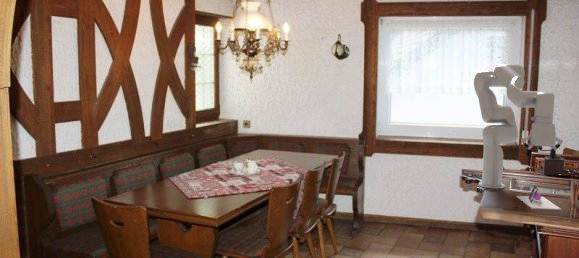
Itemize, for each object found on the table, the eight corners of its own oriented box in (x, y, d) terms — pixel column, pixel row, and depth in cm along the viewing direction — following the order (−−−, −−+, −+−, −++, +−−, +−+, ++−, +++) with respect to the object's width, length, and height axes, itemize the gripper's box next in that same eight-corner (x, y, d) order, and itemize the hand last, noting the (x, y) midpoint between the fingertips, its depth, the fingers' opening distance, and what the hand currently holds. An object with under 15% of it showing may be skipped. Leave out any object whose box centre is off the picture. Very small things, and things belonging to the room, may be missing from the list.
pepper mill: (563, 173, 311) (565, 142, 309) (563, 176, 301) (565, 145, 299) (534, 170, 318) (536, 141, 316) (533, 173, 308) (535, 143, 306)
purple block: (533, 184, 245) (535, 188, 236) (544, 188, 243) (547, 193, 235) (526, 197, 246) (529, 201, 238) (538, 201, 245) (540, 206, 236)
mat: (516, 196, 250) (516, 195, 250) (543, 197, 249) (543, 196, 249) (531, 208, 229) (531, 207, 229) (561, 210, 227) (561, 208, 227)
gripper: (525, 120, 232) (522, 159, 234) (567, 121, 230) (564, 160, 232) (520, 118, 240) (517, 156, 242) (560, 120, 238) (557, 157, 240)
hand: (540, 158), depth 237 cm, fingers open, 9 cm apart
